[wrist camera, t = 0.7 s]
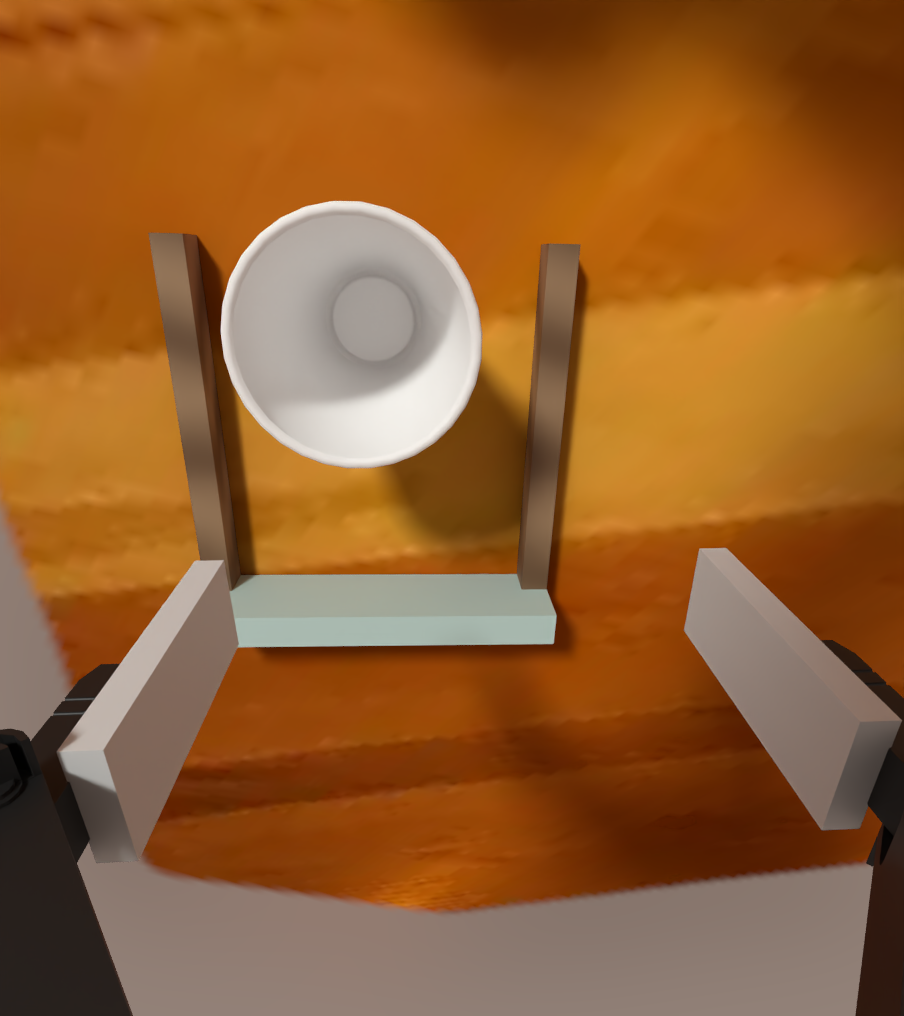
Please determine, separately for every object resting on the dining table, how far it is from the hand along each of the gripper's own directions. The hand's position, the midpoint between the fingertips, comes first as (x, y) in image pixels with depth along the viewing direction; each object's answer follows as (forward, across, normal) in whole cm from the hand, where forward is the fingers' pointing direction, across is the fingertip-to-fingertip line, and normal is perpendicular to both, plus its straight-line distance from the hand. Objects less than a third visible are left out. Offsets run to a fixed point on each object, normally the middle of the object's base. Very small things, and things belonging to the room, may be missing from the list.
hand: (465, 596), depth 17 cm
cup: (+20, -4, +5) cm, 21 cm away
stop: (+20, -4, -12) cm, 23 cm away
